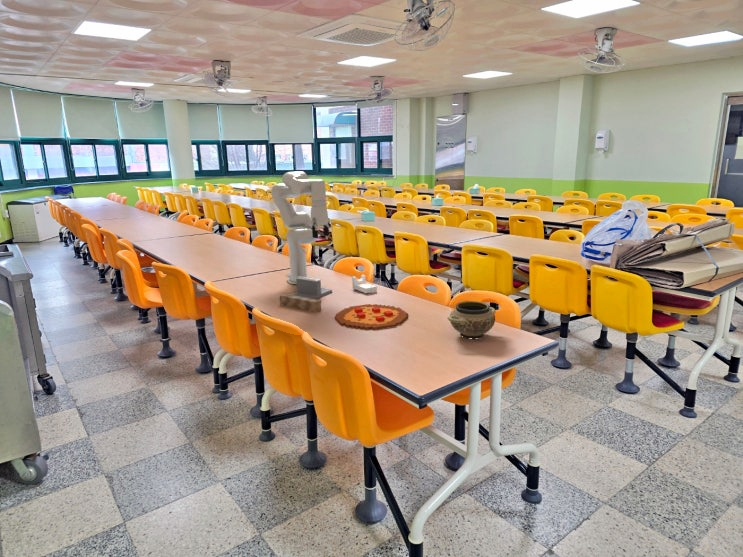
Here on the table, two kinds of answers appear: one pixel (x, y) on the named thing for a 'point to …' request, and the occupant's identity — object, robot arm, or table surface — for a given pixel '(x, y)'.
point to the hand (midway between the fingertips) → (321, 236)
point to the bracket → (363, 285)
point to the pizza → (371, 316)
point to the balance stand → (310, 288)
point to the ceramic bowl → (472, 319)
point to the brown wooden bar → (300, 302)
